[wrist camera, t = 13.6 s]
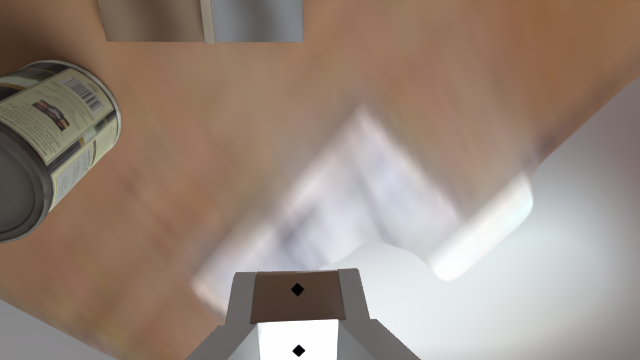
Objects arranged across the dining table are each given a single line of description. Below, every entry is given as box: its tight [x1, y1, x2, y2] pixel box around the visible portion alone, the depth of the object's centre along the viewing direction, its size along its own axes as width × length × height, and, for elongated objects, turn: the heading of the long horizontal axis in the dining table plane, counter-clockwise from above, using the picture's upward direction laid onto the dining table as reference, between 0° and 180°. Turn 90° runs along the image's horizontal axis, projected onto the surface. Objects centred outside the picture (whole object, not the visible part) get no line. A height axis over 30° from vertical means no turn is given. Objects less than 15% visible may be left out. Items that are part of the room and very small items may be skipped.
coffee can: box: [0, 60, 121, 244], centre depth 32 cm, size 10×10×14 cm
